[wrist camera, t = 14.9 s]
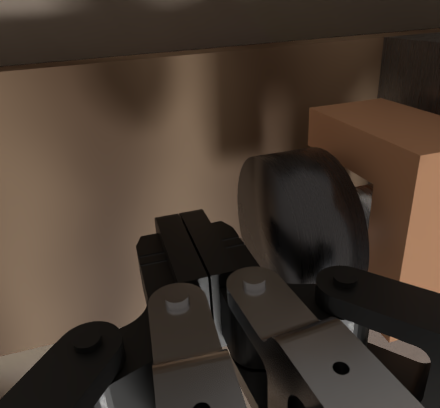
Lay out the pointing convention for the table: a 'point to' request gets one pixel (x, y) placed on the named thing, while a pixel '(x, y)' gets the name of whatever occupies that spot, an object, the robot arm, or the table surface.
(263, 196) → the shaft
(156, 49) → the table surface
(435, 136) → the spacer
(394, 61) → the block
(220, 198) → the baseboard
